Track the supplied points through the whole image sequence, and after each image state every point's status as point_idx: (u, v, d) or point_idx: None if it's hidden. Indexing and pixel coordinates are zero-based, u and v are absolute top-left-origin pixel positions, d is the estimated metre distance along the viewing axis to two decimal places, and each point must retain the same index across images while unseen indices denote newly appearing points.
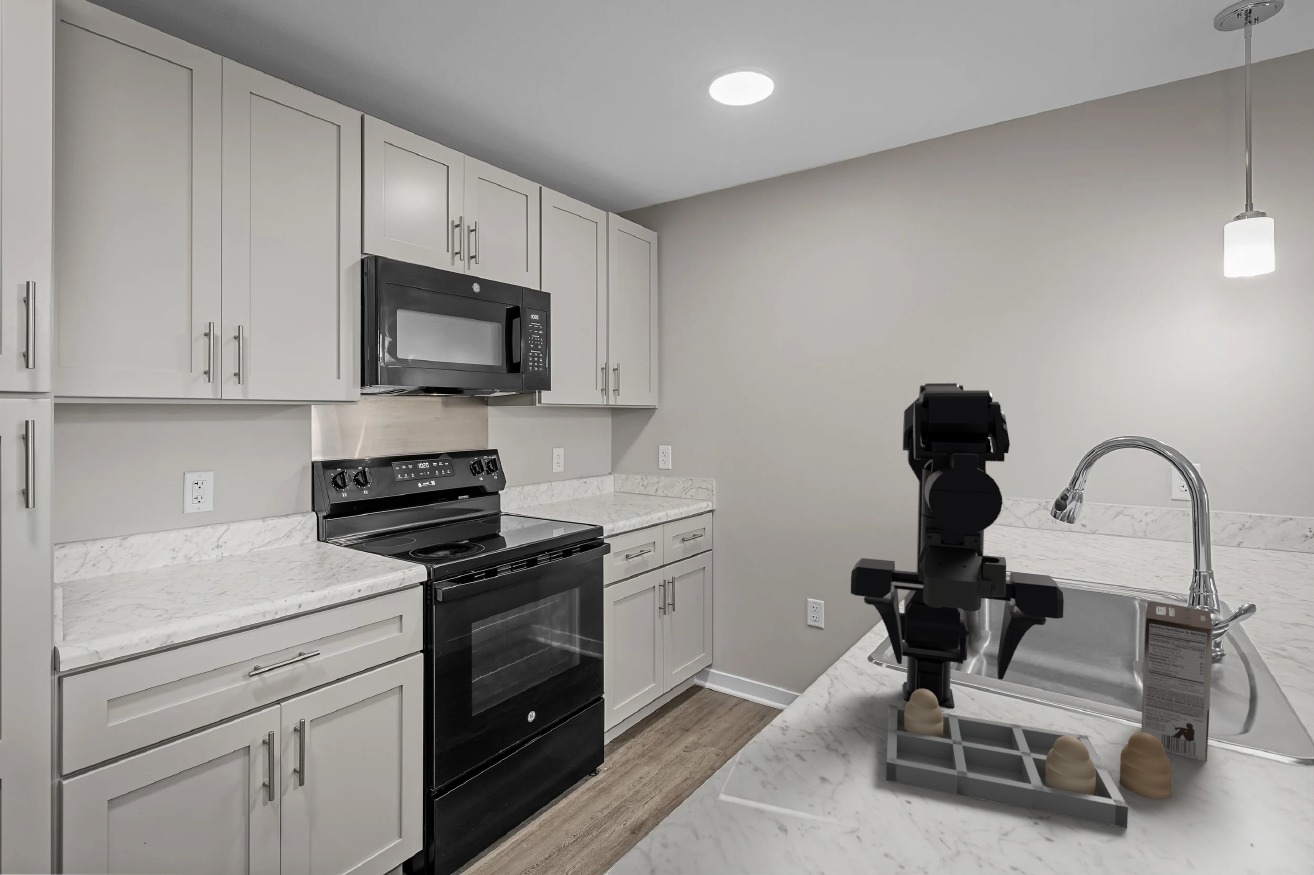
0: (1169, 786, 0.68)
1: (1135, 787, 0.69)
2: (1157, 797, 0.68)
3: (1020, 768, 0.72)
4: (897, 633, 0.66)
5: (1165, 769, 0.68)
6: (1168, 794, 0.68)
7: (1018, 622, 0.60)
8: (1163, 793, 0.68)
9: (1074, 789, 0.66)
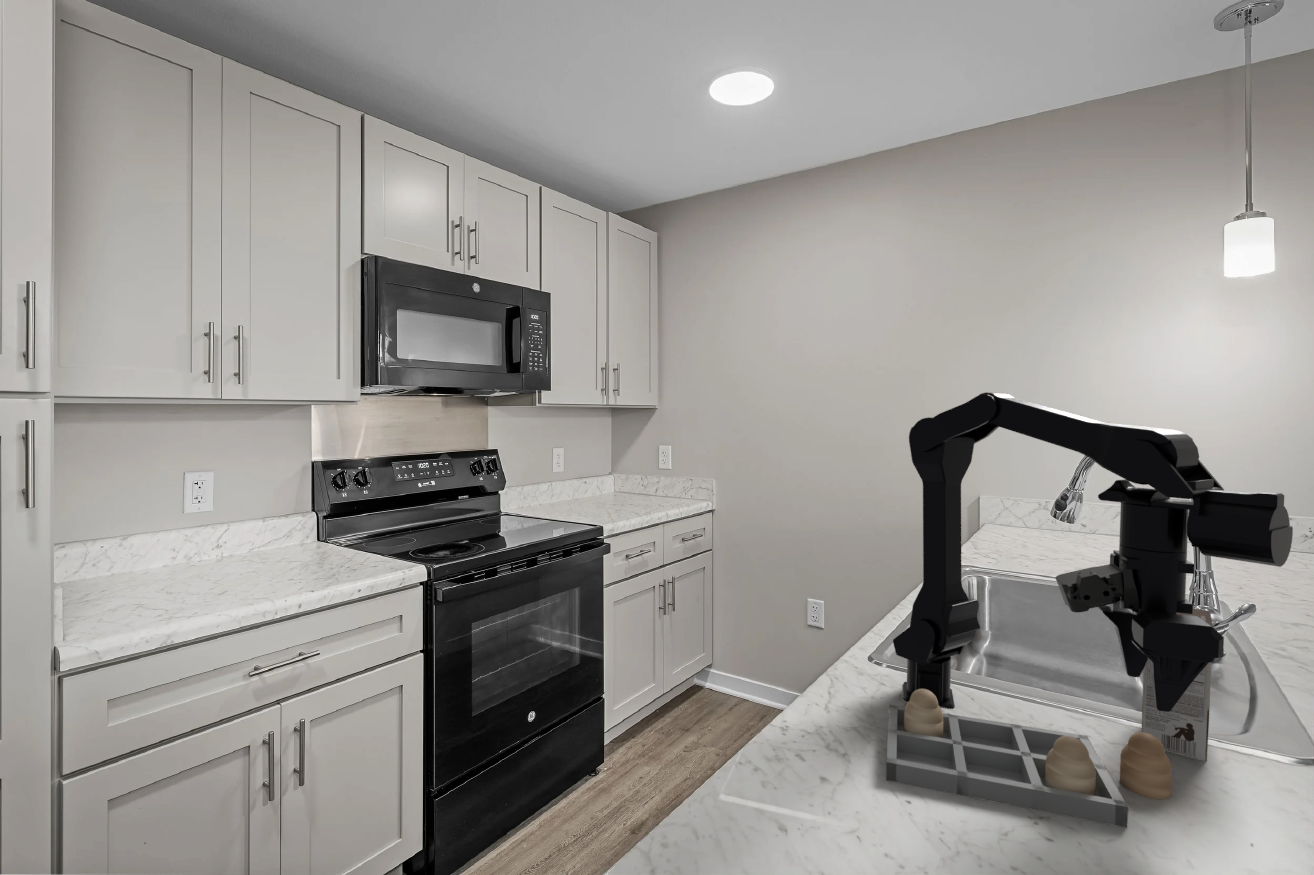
0: (1169, 786, 0.68)
1: (1135, 787, 0.69)
2: (1157, 797, 0.68)
3: (1020, 768, 0.72)
4: (1121, 644, 0.74)
5: (1165, 769, 0.68)
6: (1168, 794, 0.68)
7: (1137, 647, 0.65)
8: (1163, 793, 0.68)
9: (1074, 789, 0.66)
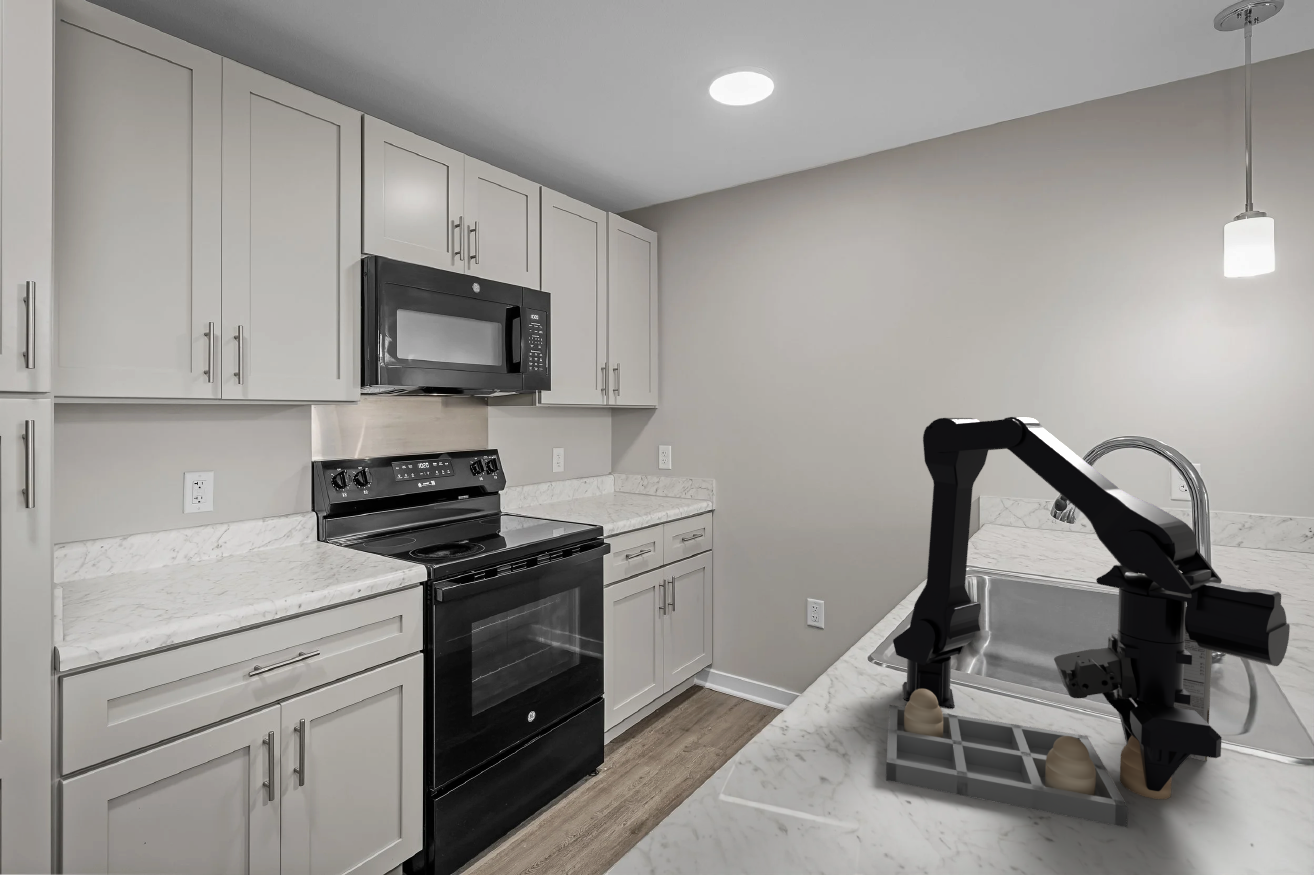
0: (1169, 786, 0.68)
1: (1135, 787, 0.69)
2: (1157, 797, 0.68)
3: (1020, 768, 0.72)
4: (1125, 733, 0.72)
5: None
6: (1168, 794, 0.68)
7: None
8: (1163, 793, 0.68)
9: (1074, 789, 0.66)
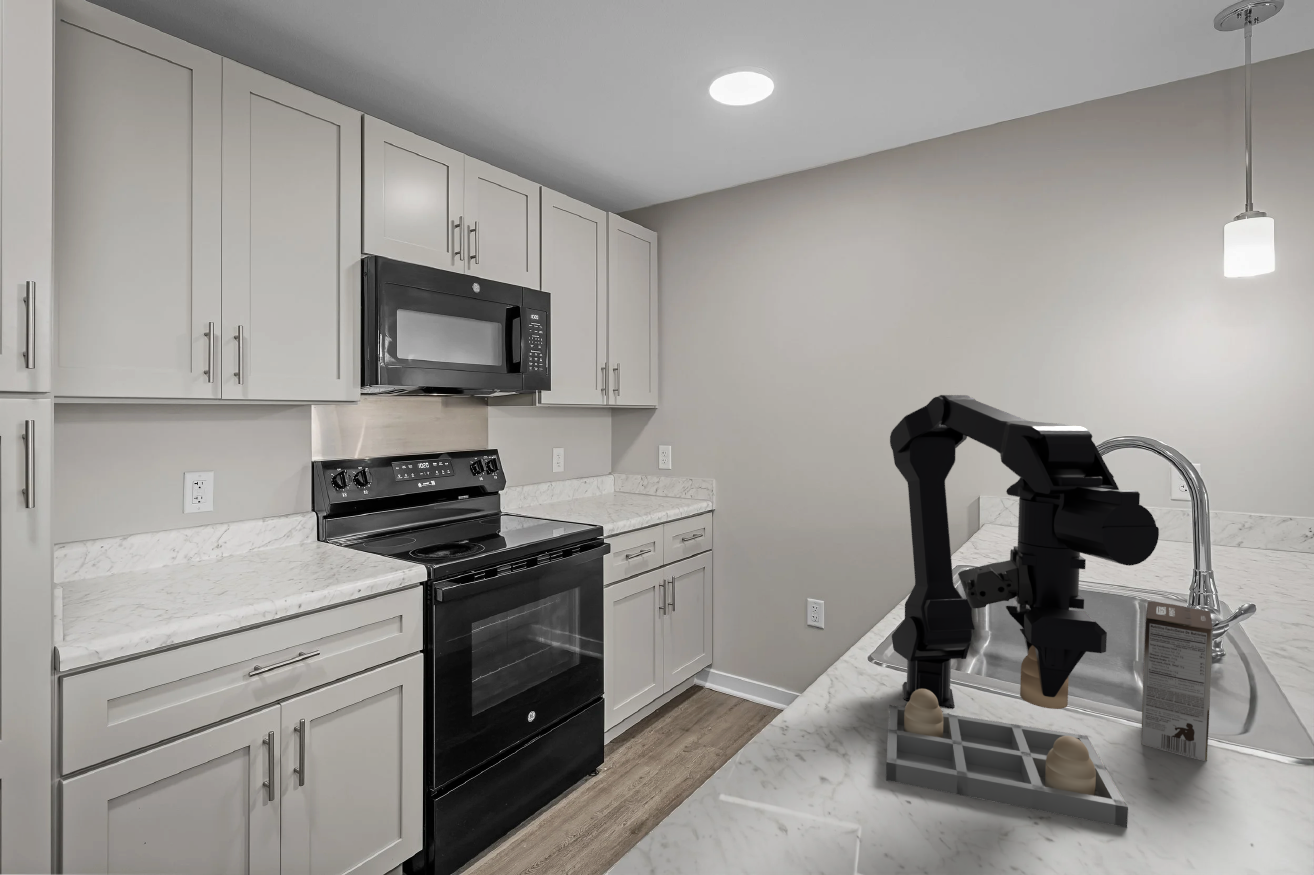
0: (1065, 692, 0.68)
1: (1033, 695, 0.69)
2: (1053, 703, 0.68)
3: (1020, 768, 0.72)
4: (1026, 646, 0.73)
5: None
6: (1064, 700, 0.68)
7: None
8: (1059, 699, 0.68)
9: (1074, 789, 0.66)
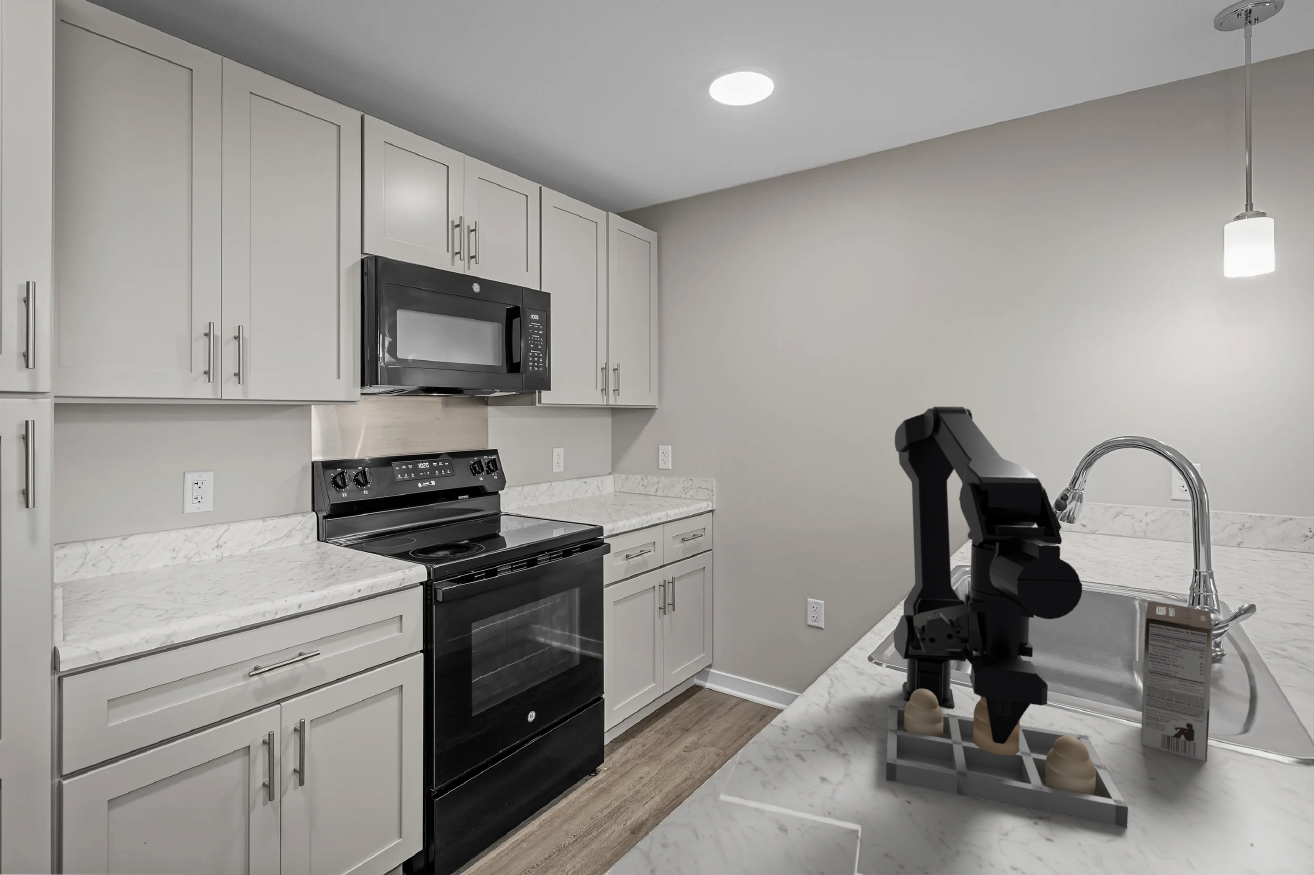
0: (1016, 739, 0.68)
1: (984, 740, 0.69)
2: (1003, 749, 0.68)
3: (1020, 768, 0.72)
4: None
5: None
6: (1014, 747, 0.68)
7: None
8: (1009, 746, 0.68)
9: (1074, 789, 0.66)
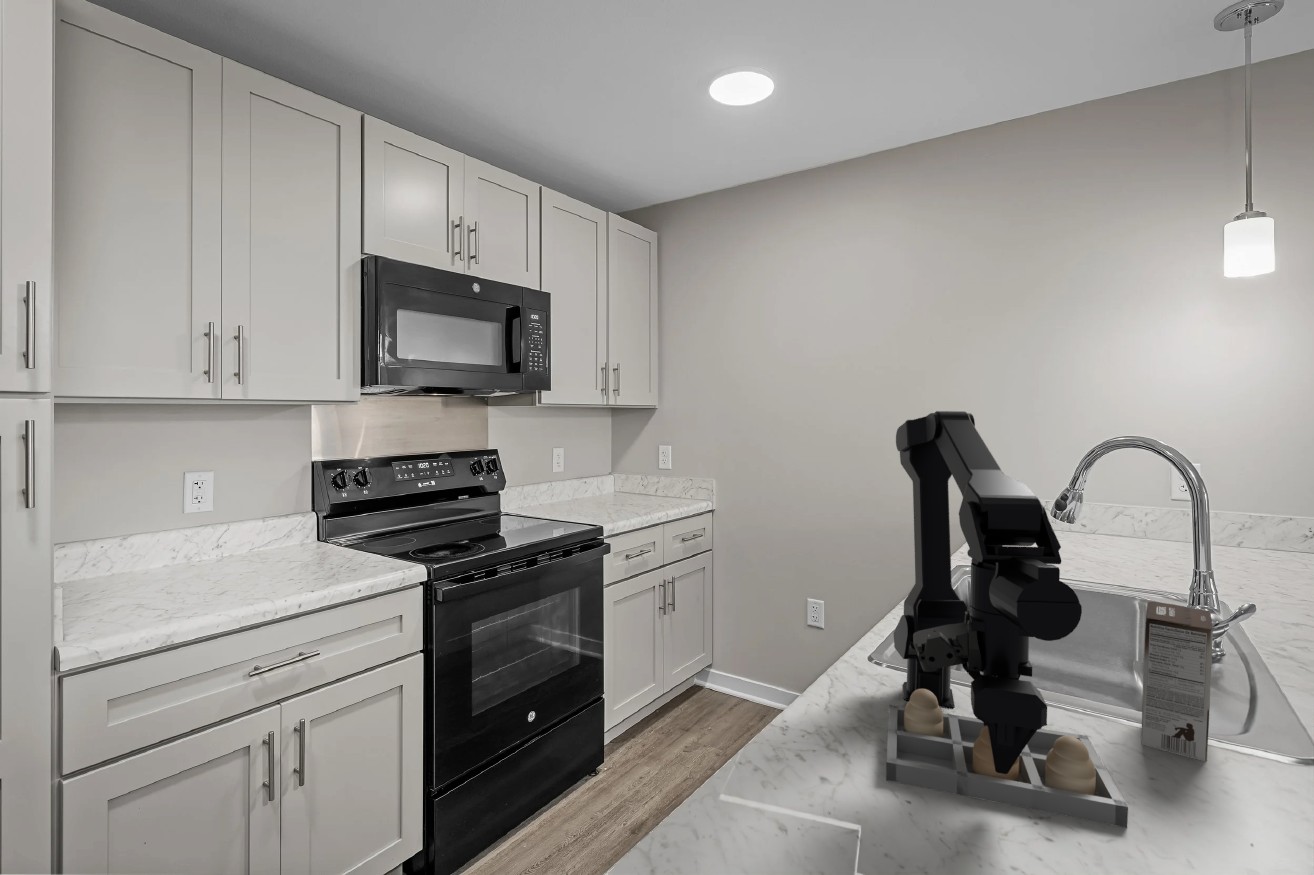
0: (1015, 777, 0.69)
1: None
2: None
3: (1020, 768, 0.72)
4: None
5: None
6: None
7: None
8: None
9: (1074, 789, 0.66)
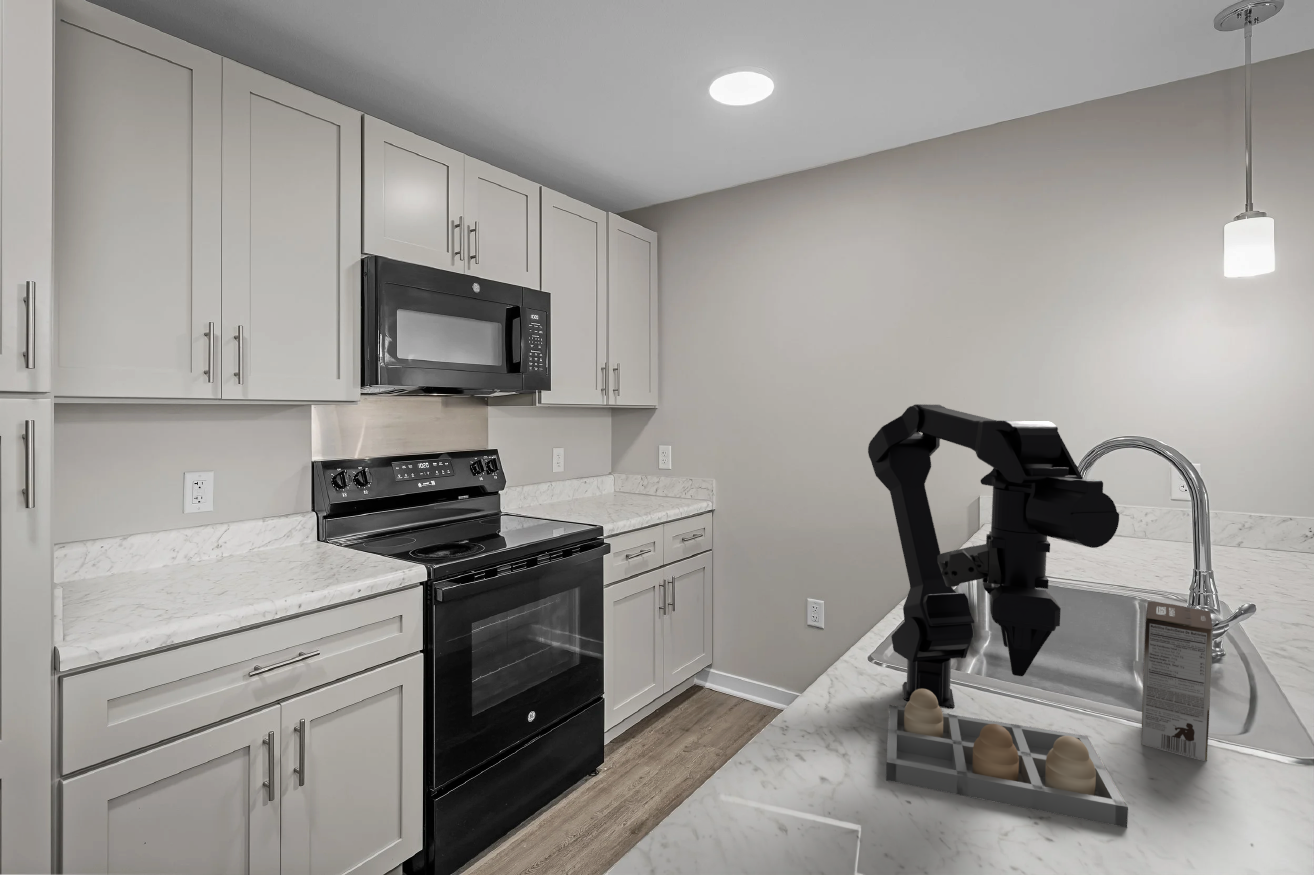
0: (1015, 777, 0.69)
1: None
2: None
3: (1020, 768, 0.72)
4: None
5: (1010, 760, 0.68)
6: None
7: None
8: None
9: (1074, 789, 0.66)
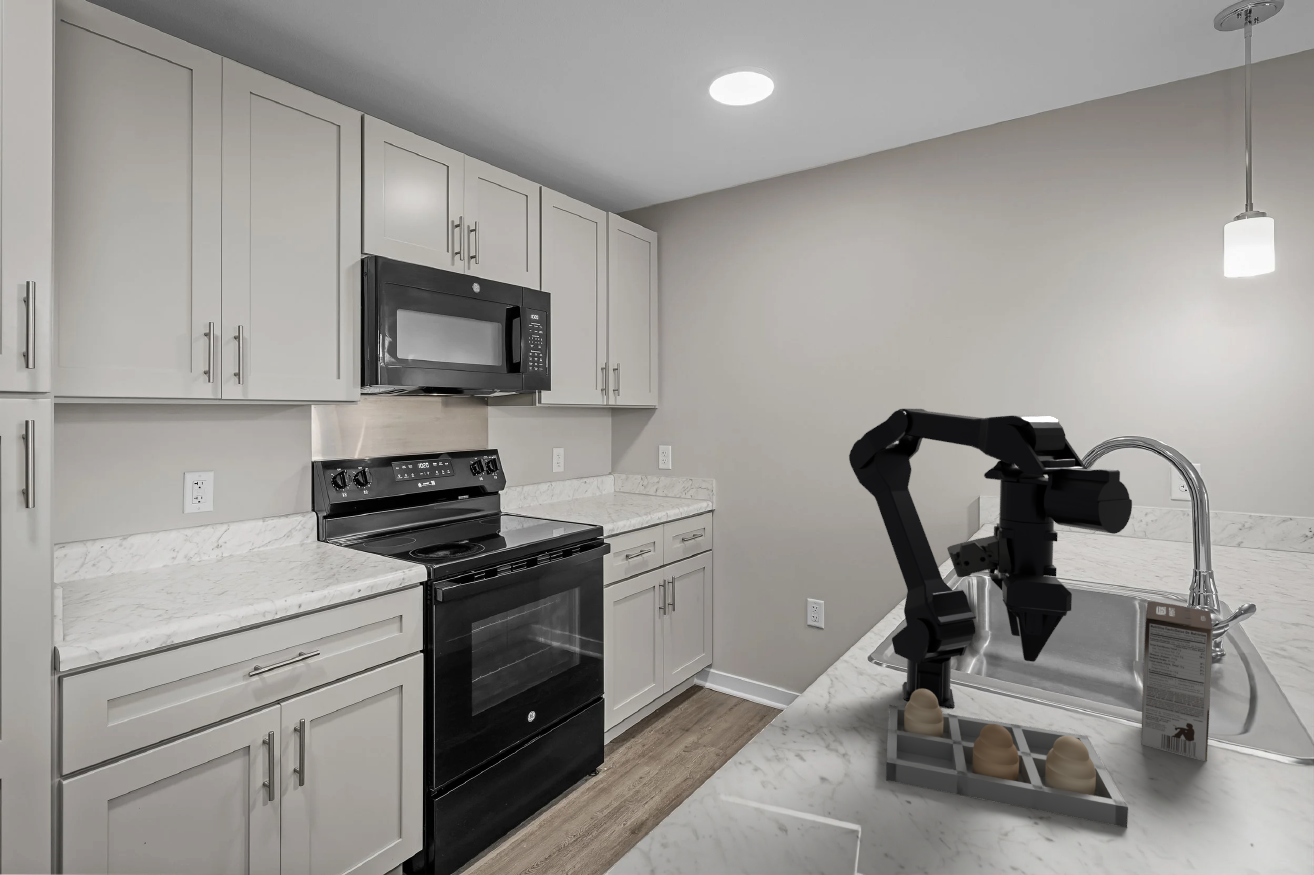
0: (1015, 777, 0.69)
1: None
2: None
3: (1020, 768, 0.72)
4: (1006, 607, 0.84)
5: (1010, 760, 0.68)
6: None
7: None
8: None
9: (1074, 789, 0.66)
